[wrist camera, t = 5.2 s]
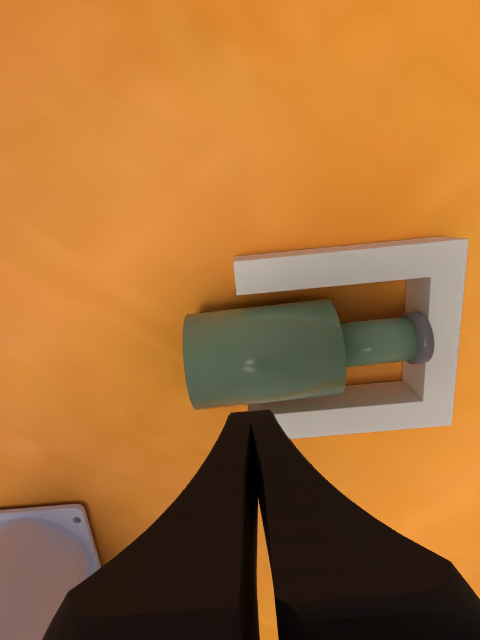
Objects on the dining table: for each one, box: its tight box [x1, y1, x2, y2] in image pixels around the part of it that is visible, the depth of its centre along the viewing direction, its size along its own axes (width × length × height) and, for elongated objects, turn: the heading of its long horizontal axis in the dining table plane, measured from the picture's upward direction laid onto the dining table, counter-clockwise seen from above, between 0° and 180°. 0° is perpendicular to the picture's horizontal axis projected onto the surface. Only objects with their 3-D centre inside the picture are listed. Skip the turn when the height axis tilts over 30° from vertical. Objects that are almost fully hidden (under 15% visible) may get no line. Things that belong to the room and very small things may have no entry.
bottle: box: [183, 299, 434, 410], centre depth 17 cm, size 5×5×11 cm
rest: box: [233, 237, 469, 439], centre depth 18 cm, size 10×11×2 cm
